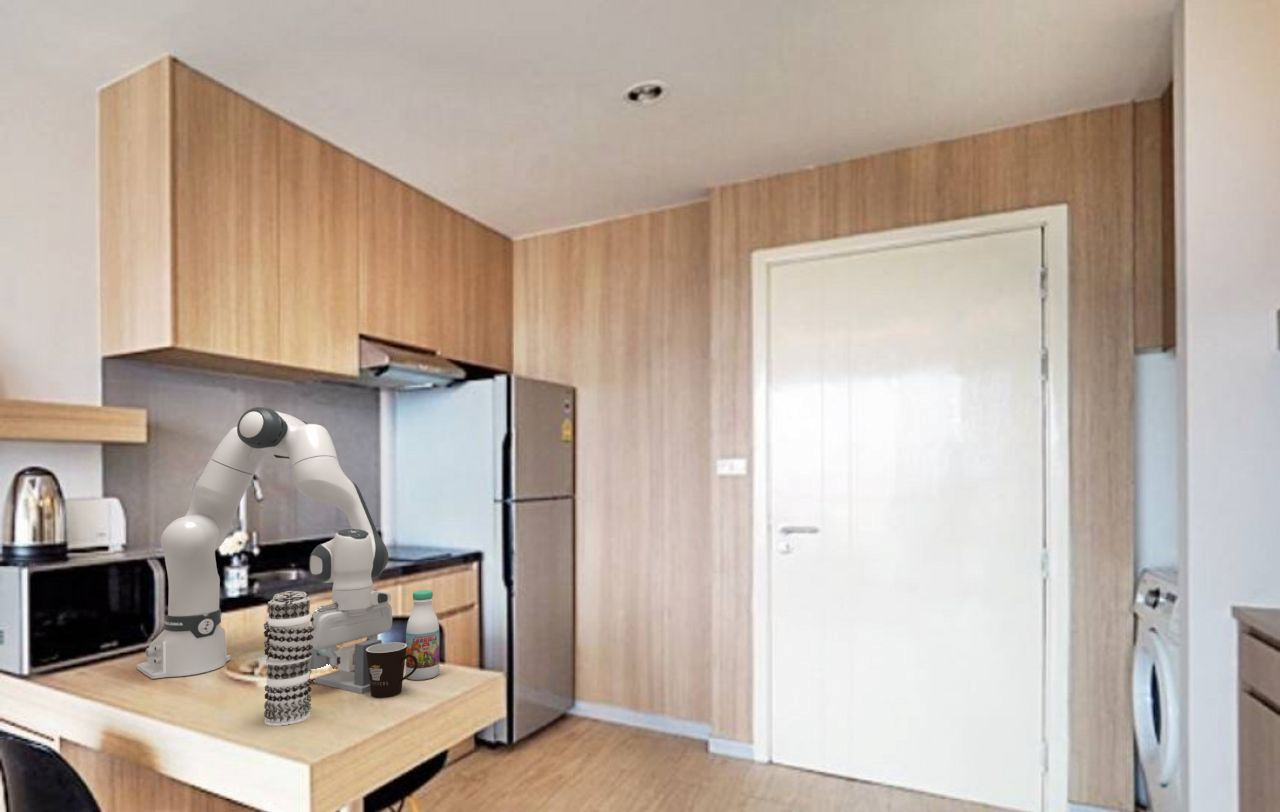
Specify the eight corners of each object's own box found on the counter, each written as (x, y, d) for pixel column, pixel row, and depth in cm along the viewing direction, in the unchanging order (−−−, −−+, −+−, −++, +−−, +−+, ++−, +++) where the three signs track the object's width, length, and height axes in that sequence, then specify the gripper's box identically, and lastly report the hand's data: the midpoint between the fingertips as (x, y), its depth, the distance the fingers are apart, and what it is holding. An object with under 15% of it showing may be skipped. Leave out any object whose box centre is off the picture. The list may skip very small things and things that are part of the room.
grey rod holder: (301, 679, 167) (302, 636, 168) (327, 671, 173) (328, 629, 174) (362, 693, 156) (362, 647, 157) (387, 684, 162) (388, 639, 163)
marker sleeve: (337, 669, 163) (337, 648, 163) (354, 663, 167) (354, 644, 167) (348, 671, 161) (349, 651, 161) (365, 666, 165) (366, 646, 165)
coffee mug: (358, 694, 156) (359, 648, 157) (394, 684, 162) (395, 640, 163) (383, 705, 148) (384, 657, 149) (420, 695, 154) (421, 648, 155)
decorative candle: (265, 714, 145) (267, 590, 147) (314, 707, 148) (316, 587, 150) (258, 729, 136) (260, 598, 138) (310, 722, 139) (312, 594, 141)
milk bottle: (400, 676, 169) (400, 591, 170) (430, 669, 174) (430, 587, 175) (414, 683, 163) (414, 595, 164) (445, 675, 168) (445, 591, 170)
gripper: (321, 609, 154) (320, 673, 153) (396, 593, 172) (396, 650, 171) (303, 606, 157) (302, 670, 156) (379, 591, 175) (378, 647, 174)
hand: (352, 659), depth 164 cm, fingers open, 8 cm apart
